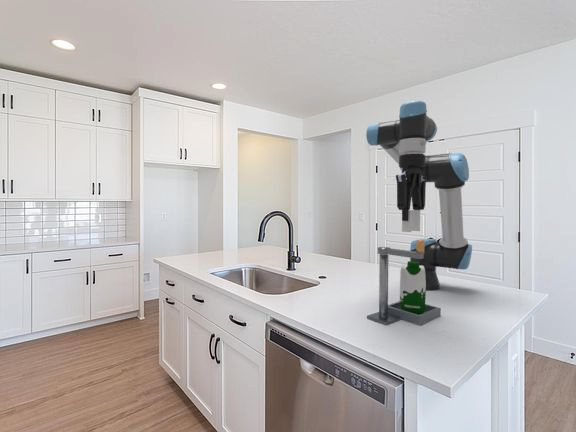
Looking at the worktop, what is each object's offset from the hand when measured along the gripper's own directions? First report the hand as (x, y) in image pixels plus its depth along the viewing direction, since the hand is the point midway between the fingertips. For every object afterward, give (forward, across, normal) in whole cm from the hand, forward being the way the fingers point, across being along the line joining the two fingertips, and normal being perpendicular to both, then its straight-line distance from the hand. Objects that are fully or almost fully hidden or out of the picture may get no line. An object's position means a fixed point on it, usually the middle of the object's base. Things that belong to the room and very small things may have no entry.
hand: (411, 231), depth 98 cm
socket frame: (+33, +18, +10) cm, 38 cm away
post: (+33, +6, +14) cm, 36 cm away
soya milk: (+33, +18, +10) cm, 38 cm away
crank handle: (+9, +5, +7) cm, 13 cm away
